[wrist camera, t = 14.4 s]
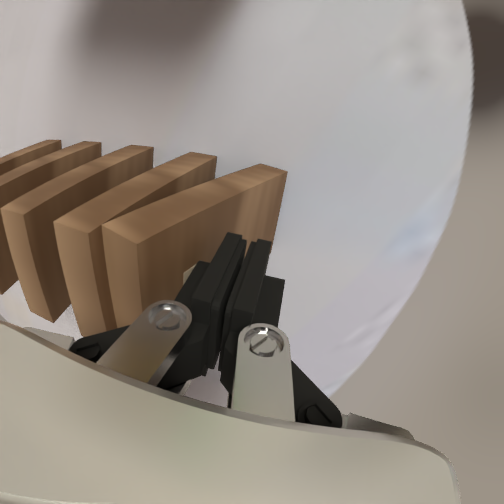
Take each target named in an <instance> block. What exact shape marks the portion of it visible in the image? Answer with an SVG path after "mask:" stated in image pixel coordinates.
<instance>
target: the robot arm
mask: <svg viewBox="0 0 504 504" xmlns="http://www.w3.org/2000/svg"><path fill="white" fill-rule="evenodd" d="M246 245H247V240H245V239H242V235H240V234H235V233H231V232H227V234H226V236H225V237H224V239H223V241H222V243H221V245H220V246H219V248H218V250H217V252H216V254H215V255H214V257H213V259H212V261H211V263H209V262H205V261H198V262H197V264H196V265H195V267H194V269H193V270H192V272H191V273H190V275H189V277H188V278H187V280H186V282H185V283H184V285H183V287H182V288H181V290H180V291H179V293H178V295H177V296H176V298H175V300H174V301H173V300H162V301H158V302H155V303H153V304H151V305H150V306H148V307H147V308H146V309H145V310H144V311H143V312H142V313H141V315H140V316H139V317H138V318H137V319H136V320H135V321H134V322H133V323H132V324H131V325H128V326H124V327H120V328H117V329H113V330H109V331H106V332H102V333H98V334H94V335H90V336H87V337H83V338H81V339H78V340H77V341H74V338H73V337H70V336H66V335H61V334H56V333H52V332H48V331H44V330H39V329H35V328H31V327H24V328H21V327H19V326H16V325H14V324H11V323H8V322H5V321H1V320H0V504H462V503H461V497H460V490H459V485H458V480H457V477H456V473H455V470H454V468H453V466H452V464H451V462H450V461H449V459H448V458H447V457H446V456H445V455H444V454H443V453H441V452H440V451H438V450H437V449H435V448H433V447H431V446H429V445H427V444H424V443H422V442H419V441H416V440H415V439H414V437H413V435H412V434H411V433H410V432H409V431H408V430H406V429H403V428H401V427H397V426H393V425H390V424H386V423H382V422H379V421H375V420H372V419H369V418H365V417H362V416H359V415H356V414H352V413H349V415H345V414H342V413H340V411H339V410H338V408H337V407H336V406H335V405H334V404H333V403H332V401H330V399H329V398H328V397H327V396H326V395H325V394H324V393H323V392H322V391H321V390H320V389H319V388H318V387H317V386H316V385H315V384H314V383H313V382H312V381H311V380H310V379H309V378H308V377H307V376H306V375H305V374H304V373H303V372H302V371H301V370H300V369H299V368H298V366H297V365H296V364H295V363H294V362H293V361H292V360H291V355H290V344H289V340H288V337H287V336H286V335H285V333H284V332H283V331H281V330H280V329H279V328H278V322H279V316H280V309H281V303H282V297H283V290H284V284H285V280H283V279H279V278H274V277H270V276H265V273H266V269H267V264H268V259H269V254H270V250H271V245H272V241H267V240H263V239H257V242H254V241H251V243H250V245H249V248H248V251H247V253H246V256H245V251H246ZM219 353H220V358H219V367H218V371H221V378H220V381H221V383H222V384H223V386H224V387H225V388H226V390H227V391H228V392H229V393H228V400H227V408H225V407H221V406H217V405H214V404H210V403H206V402H203V401H199V400H196V399H192V398H189V397H186V396H184V394H185V393H186V391H187V389H188V388H189V386H190V384H191V379H194V378H196V377H199V376H201V375H202V376H206V373H207V370H208V368H210V369H214V367H215V365H216V362H217V359H218V356H219Z"/></svg>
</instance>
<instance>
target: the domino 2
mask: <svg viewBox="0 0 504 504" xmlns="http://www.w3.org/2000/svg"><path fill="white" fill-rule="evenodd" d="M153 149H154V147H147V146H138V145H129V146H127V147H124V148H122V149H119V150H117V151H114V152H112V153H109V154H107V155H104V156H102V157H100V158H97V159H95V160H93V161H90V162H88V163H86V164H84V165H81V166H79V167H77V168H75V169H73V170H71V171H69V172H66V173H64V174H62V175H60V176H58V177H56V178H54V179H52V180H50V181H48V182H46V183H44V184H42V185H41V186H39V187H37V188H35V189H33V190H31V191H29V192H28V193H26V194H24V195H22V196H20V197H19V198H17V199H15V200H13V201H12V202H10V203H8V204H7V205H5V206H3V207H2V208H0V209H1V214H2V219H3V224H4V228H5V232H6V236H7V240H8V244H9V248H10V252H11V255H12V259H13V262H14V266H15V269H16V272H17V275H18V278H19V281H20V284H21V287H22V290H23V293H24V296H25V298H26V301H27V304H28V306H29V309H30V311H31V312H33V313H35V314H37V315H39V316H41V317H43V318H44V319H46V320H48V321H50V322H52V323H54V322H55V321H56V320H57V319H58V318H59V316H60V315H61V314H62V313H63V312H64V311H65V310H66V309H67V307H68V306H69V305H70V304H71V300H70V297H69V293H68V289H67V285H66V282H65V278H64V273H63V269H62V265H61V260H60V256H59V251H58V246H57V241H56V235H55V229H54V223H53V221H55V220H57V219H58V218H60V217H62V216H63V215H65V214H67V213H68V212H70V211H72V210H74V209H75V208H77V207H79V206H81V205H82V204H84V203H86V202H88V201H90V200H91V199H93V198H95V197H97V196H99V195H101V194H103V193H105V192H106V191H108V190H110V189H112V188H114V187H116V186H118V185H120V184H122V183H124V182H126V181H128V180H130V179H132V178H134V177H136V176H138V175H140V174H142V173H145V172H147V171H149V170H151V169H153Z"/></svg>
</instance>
